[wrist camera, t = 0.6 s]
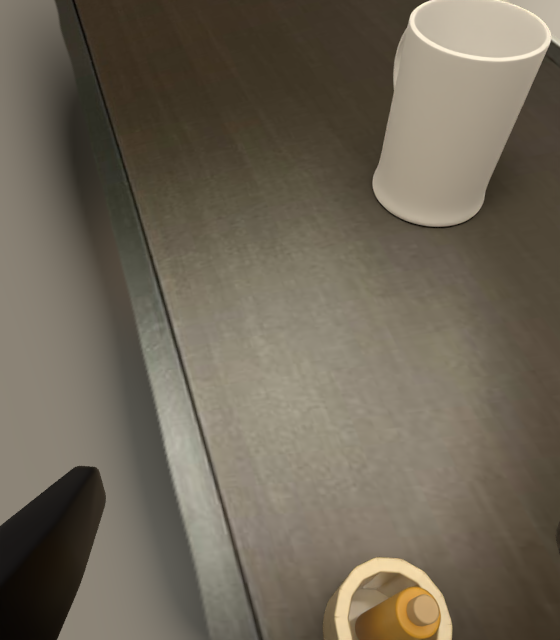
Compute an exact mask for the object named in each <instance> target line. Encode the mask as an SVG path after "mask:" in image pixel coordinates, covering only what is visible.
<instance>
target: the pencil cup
mask: <svg viewBox="0 0 560 640" xmlns="http://www.w3.org/2000/svg"><path fill="white" fill-rule="evenodd" d="M408 587H420V588H423V589H425V590H427V591H428V592H429V593H430V594H432V596H433V597H434V598H435V600H436V601H437V603H438V605H439V608H440V613H441V621H440V626H439V628H438V630H437V632H436V633H435V634H434V635H433V636H431V637H430V638H427V639H422V640H452V629H453V627H452V621H451V618H450V615H449V612H448V609H447V605H446V602H445V599H444V597H443V596H442V593H441V592H440V590H439V589H438V588H437V587H436V585H435V584H434V583H433V582H432V580H431V579H430V578H429V576H428V575H427V574H426V573H424V571H423V570H421V569H419V568H417V567H415V566H414V565H412V564H410V563H408V562H407V561H405V560H403V559H400V558H385V557H377V558H373V559H371V560H369V561H367V562H365V563H363V564H361V565H358V566H356V567H355V568H354V569H353V570H352V571H351V572H350V574H349V575H348V576H347V577H346V578H345V580H344V581H343V582H342V583H341V584H340V586H339V587H338V588H337V590H336V591H335V592H334V594H333V595H332V596H331V598H330V599H329V601H328V603H327V606H326V609H325V612H324V617H323V637H324V640H359V639H358V637H357V635H356V631H355V624H356V621H357V619H358V617H359V616H360V615H361V614H362V613H364V612H366V611H367V610H369V609H371V608H373V607H374V606H376V605H378V604H380V603H381V602H383V601H385V600H387V599H388V598H390V597H392V596H393V595H395V594H397V593H399V592H400V591H402V590H404V589H406V588H408Z"/></svg>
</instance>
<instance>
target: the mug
mask: <svg viewBox="0 0 560 640" xmlns="http://www.w3.org/2000/svg"><path fill="white" fill-rule="evenodd" d="M550 41H551V32H550V30H549V28H548V26H547V25H546V24H545V23H544V22H543V21H542V20H541V19H540V18H539V17H537V16H536V15H535V14H533V13H531V12H529V11H528V10H526V9H523V8H521V7H519V6H516V5H514V4H511V3H507V2H504V1H500V0H431V1H428V2H425V3H423V4H421V5H420V6H418V7H417V8H416V9H415V10H414V11H413V12H412V14H411V16H410V19H409V23H408V27H407V29H406V30H405V32H404V34H403V36H402V38H401V40H400V42H399V45H398V48H397V52H396V57H395V63H394V74H393V83H394V95H393V100H392V105H391V110H390V114H389V119H388V124H387V129H386V134H385V138H384V143H383V148H382V152H381V157H380V161H379V164H378V167H377V169H376V171H375V173H374V176H373V182H372V185H373V191H374V193H375V196H376V198H377V199H378V201H379V202H380V203H381V204H382V205H383V207H385V208H386V209H387V210H388V211H389V212H391V213H392V214H394V215H395V216H397V217H399V218H401V219H403V220H405V221H408V222H411V223H414V224H418V225H423V226H430V227H445V226H452V225H456V224H459V223H462V222H465V221H467V220H468V219H470V218H472V217H473V216H474V215H475V214H476V213H477V212H478V211H479V210H480V208H481V206H482V204H483V202H484V197H485V191H486V188H487V185H488V183H489V180H490V178H491V176H492V173H493V171H494V169H495V166H496V164H497V162H498V160H499V157H500V155H501V153H502V151H503V148H504V146H505V144H506V142H507V139H508V137H509V135H510V133H511V130H512V128H513V126H514V124H515V121H516V119H517V117H518V115H519V112H520V110H521V108H522V105H523V103H524V101H525V99H526V96H527V94H528V92H529V90H530V87H531V85H532V83H533V81H534V78H535V76H536V74H537V72H538V69H539V67H540V65H541V63H542V60H543V58H544V56H545V53H546V51H547V49H548V47H549V44H550Z"/></svg>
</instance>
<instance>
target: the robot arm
mask: <svg viewBox="0 0 560 640" xmlns="http://www.w3.org/2000/svg"><path fill="white" fill-rule="evenodd" d="M105 502H106V495H105V490H104V487H103V483H102V480H101V476H100V472H99V470H98V469H97V468H96V467H89V466H77V467H75V468H73V469H72V470H70V471H69V472H68V473H67V474H65V475H64V476H63V477H62V478H61V479H59V480H58V481H57V482H55V483H54V484H53V485H51V486H50V487H49V488H48V489H46V490H45V491H44V492H43V493H41V494H40V495H39V496H38V497H36V498H35V499H34V500H32V501H31V502H30V503H29V504H27V505H26V506H25V507H24V508H22V509H21V510H20V511H19V512H17V513H16V514H15V515H13V516H12V517H11V518H10V519H8V520H7V521H6V522H5V523H3V524H2V525H1V526H0V640H57V638H58V636H59V634H60V631H61V629H62V626H63V624H64V621H65V619H66V617H67V614H68V612H69V610H70V608H71V605H72V603H73V601H74V598H75V596H76V593H77V591H78V588H79V586H80V583H81V580H82V578H83V575H84V572H85V568H86V565H87V562H88V559H89V555H90V552H91V549H92V546H93V542H94V539H95V536H96V533H97V530H98V526H99V523H100V520H101V517H102V513H103V510H104V507H105ZM556 541H557V545H558V549H559V553H560V522H559V524H558V527H557V530H556Z"/></svg>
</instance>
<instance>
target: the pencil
mask: <svg viewBox="0 0 560 640" xmlns="http://www.w3.org/2000/svg"><path fill="white" fill-rule="evenodd" d="M440 621H441V613H440V608H439V605H438V603H437V601H436V600H435V598H434V597H433V596H432V594H430V593H429V592H428V591H427V590H425V589H423V588H420V587H408V588H406V589H404V590H402V591H400V592H399V593H397V594H395V595H393V596H392V597H390V598H388V599H387V600H385V601H383V602H381V603H380V604H378V605H376V606H374V607H373V608H371V609H369V610H367V611H366V612H364V613H362V614H361V615H360V616H359V617H358V619H357V621H356V624H355V631H356V635H357V637H358V639H359V640H422V639H427V638H430V637H431V636H433V635H434V634H435V633H436V632H437V630H438V628H439V626H440Z"/></svg>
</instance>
